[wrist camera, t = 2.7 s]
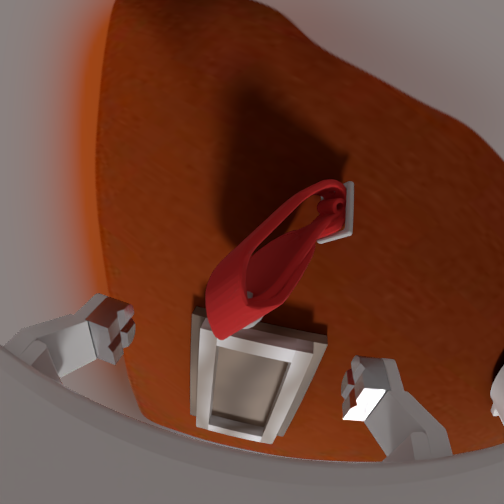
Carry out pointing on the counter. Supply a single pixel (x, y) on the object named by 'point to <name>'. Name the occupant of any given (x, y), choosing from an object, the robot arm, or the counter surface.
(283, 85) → the counter surface
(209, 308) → the tracker holder
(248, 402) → the grey rectangular tray
